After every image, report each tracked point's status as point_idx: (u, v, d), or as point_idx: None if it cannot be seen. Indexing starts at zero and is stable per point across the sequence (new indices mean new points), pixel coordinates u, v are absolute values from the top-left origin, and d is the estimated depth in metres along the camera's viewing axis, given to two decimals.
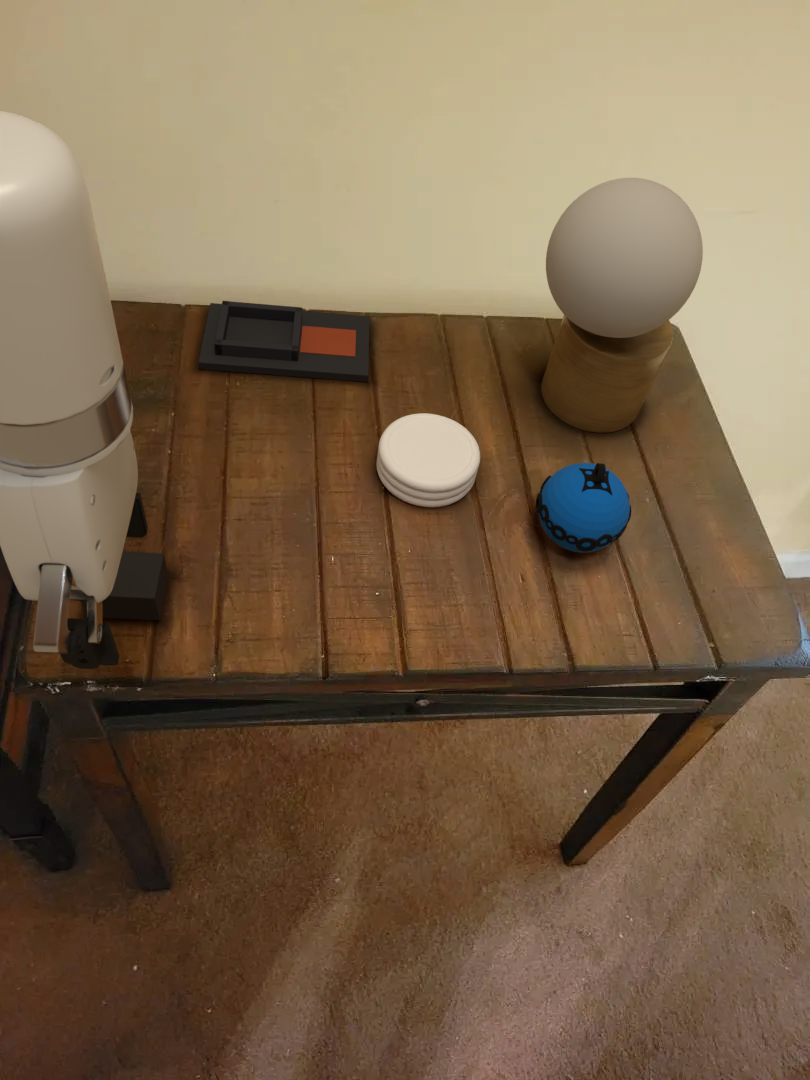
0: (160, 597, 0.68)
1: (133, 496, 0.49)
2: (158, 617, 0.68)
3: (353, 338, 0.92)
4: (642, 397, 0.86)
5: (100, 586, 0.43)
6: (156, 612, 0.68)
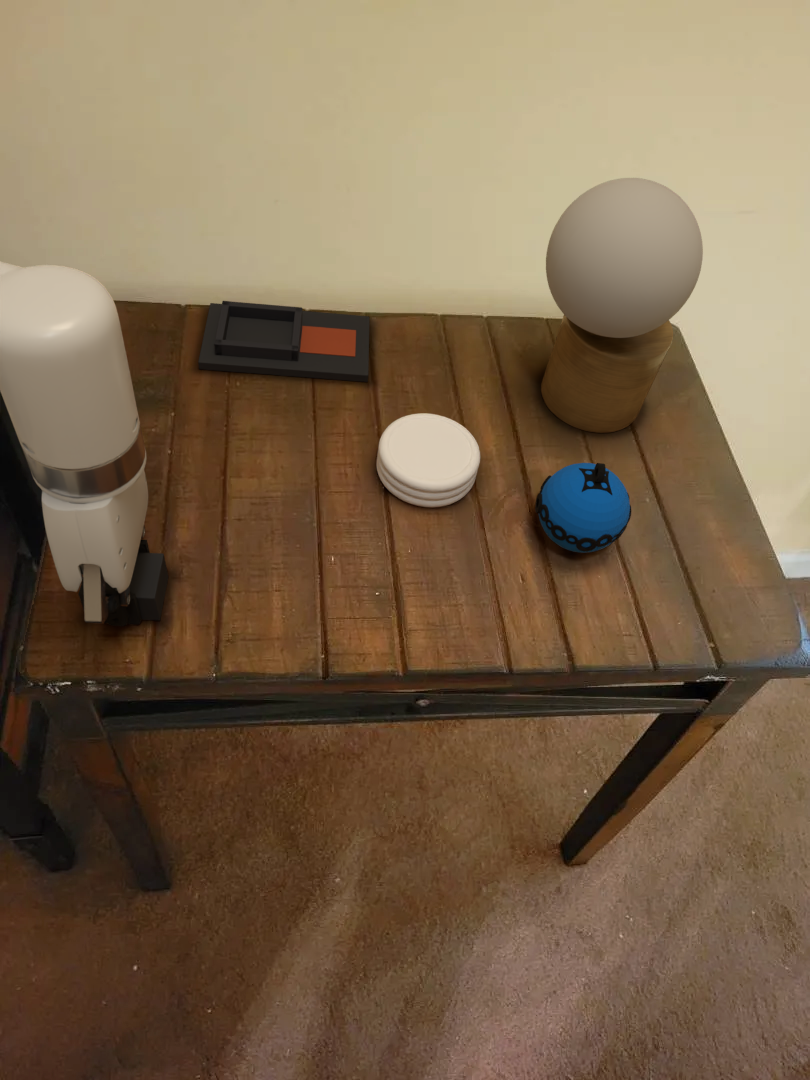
0: (160, 597, 0.68)
1: (145, 513, 0.65)
2: (158, 617, 0.68)
3: (353, 338, 0.92)
4: (642, 397, 0.86)
5: (121, 581, 0.59)
6: (156, 612, 0.68)
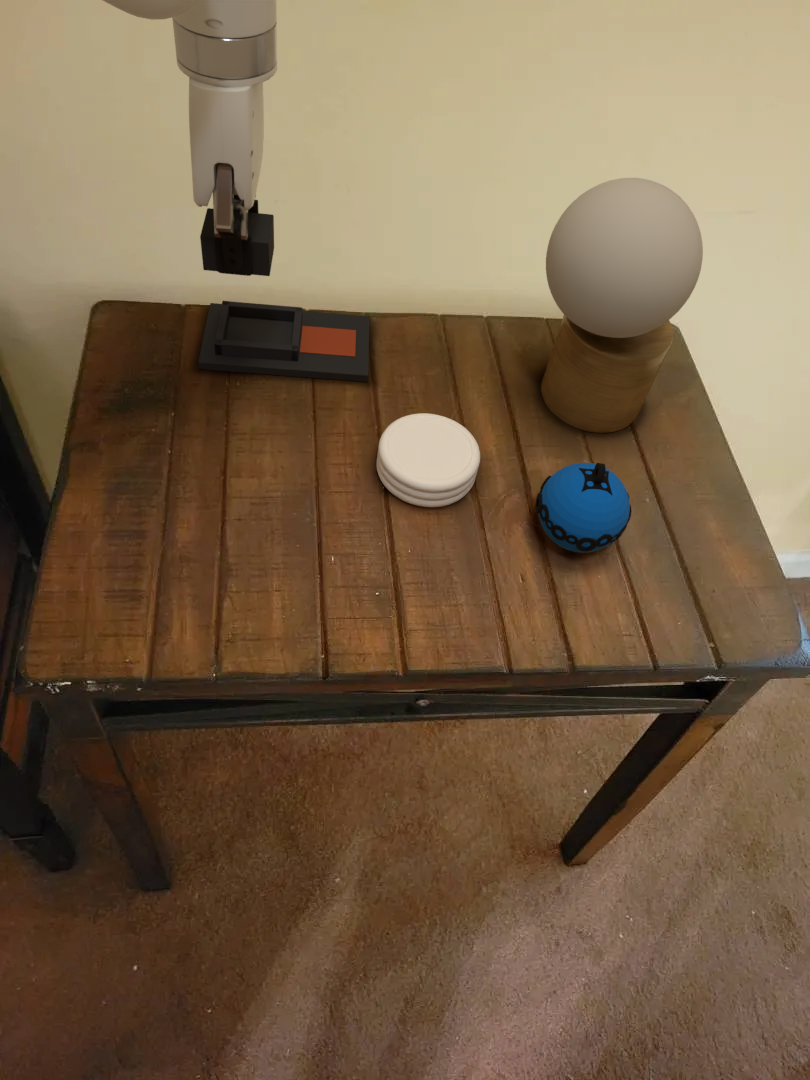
0: (270, 253, 0.75)
1: None
2: (268, 271, 0.75)
3: (353, 338, 0.92)
4: (642, 397, 0.86)
5: (249, 191, 0.66)
6: (267, 264, 0.74)
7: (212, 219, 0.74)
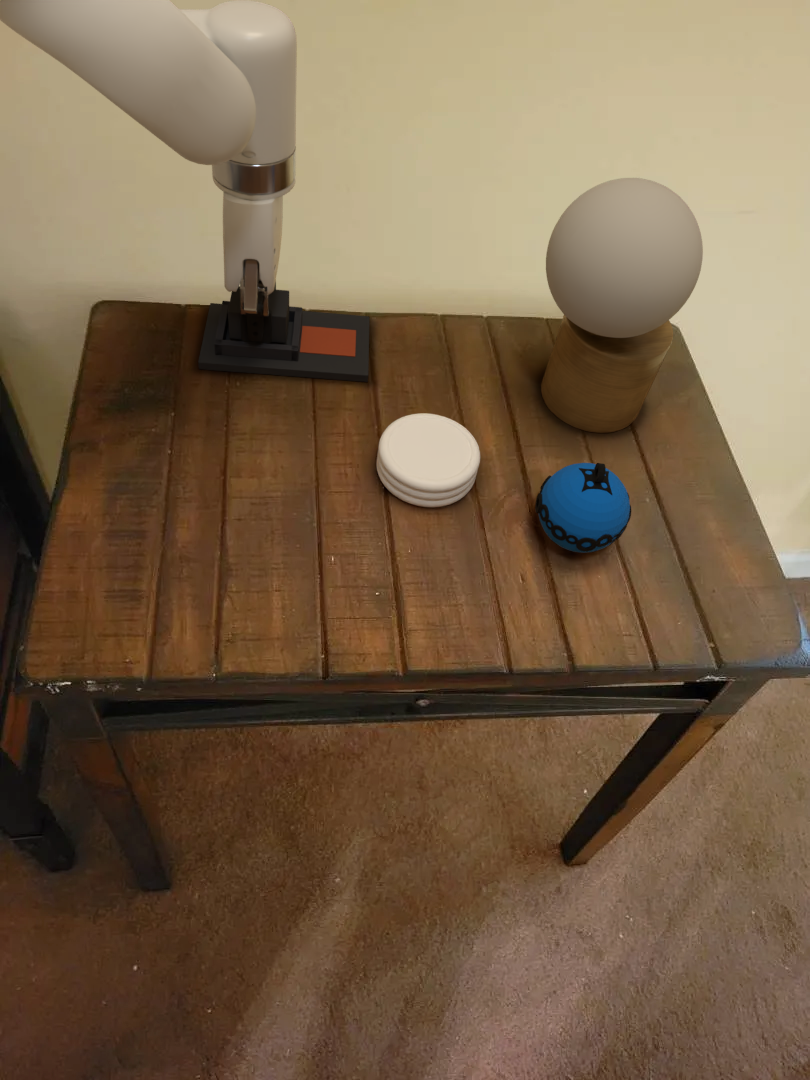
0: (287, 323, 0.88)
1: None
2: (285, 339, 0.88)
3: (353, 338, 0.92)
4: (642, 397, 0.86)
5: (271, 280, 0.79)
6: (284, 334, 0.87)
7: (237, 296, 0.86)
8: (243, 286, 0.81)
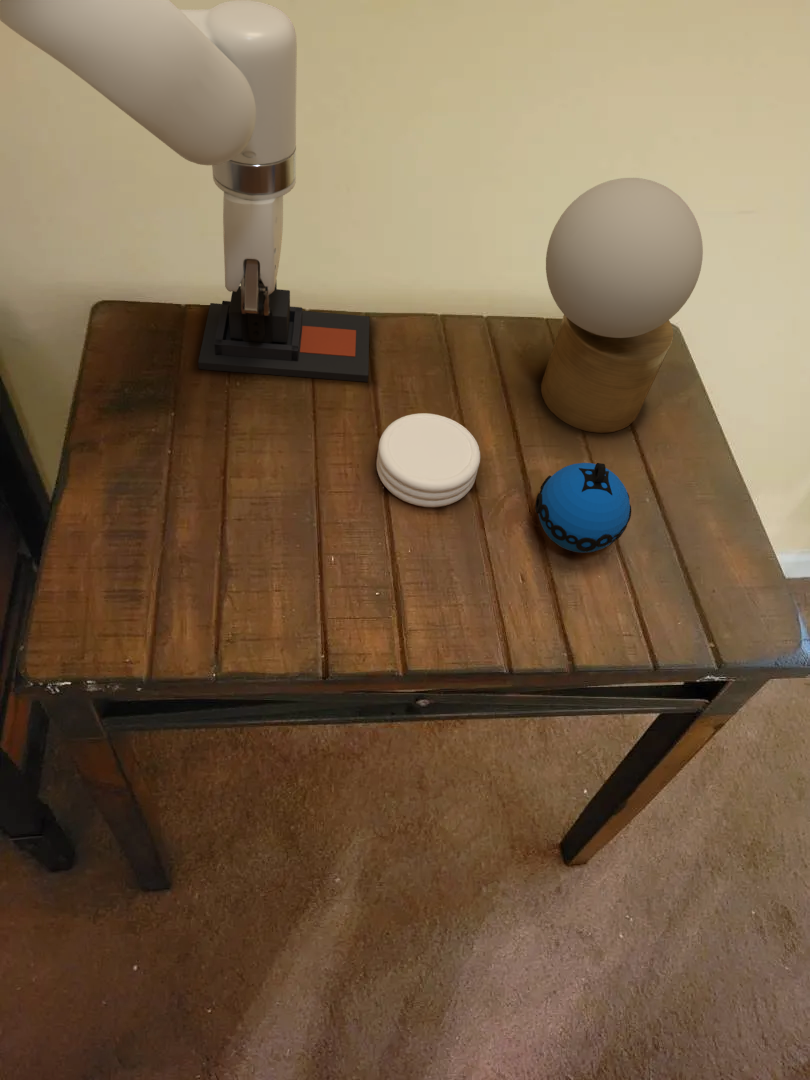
0: None
1: None
2: (285, 339, 0.88)
3: (353, 338, 0.92)
4: (642, 397, 0.86)
5: (272, 280, 0.79)
6: (285, 333, 0.87)
7: (238, 296, 0.86)
8: (244, 286, 0.81)
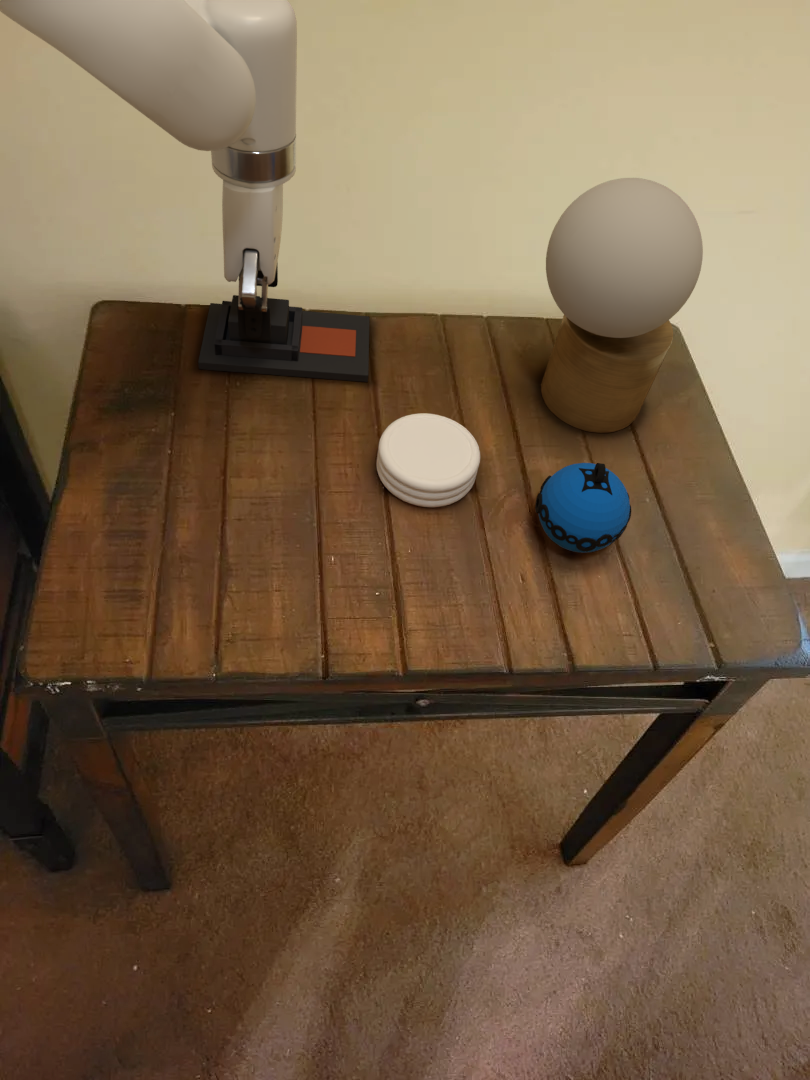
0: None
1: None
2: None
3: (353, 338, 0.92)
4: (642, 397, 0.86)
5: (271, 270, 0.78)
6: (284, 342, 0.88)
7: None
8: (242, 276, 0.79)
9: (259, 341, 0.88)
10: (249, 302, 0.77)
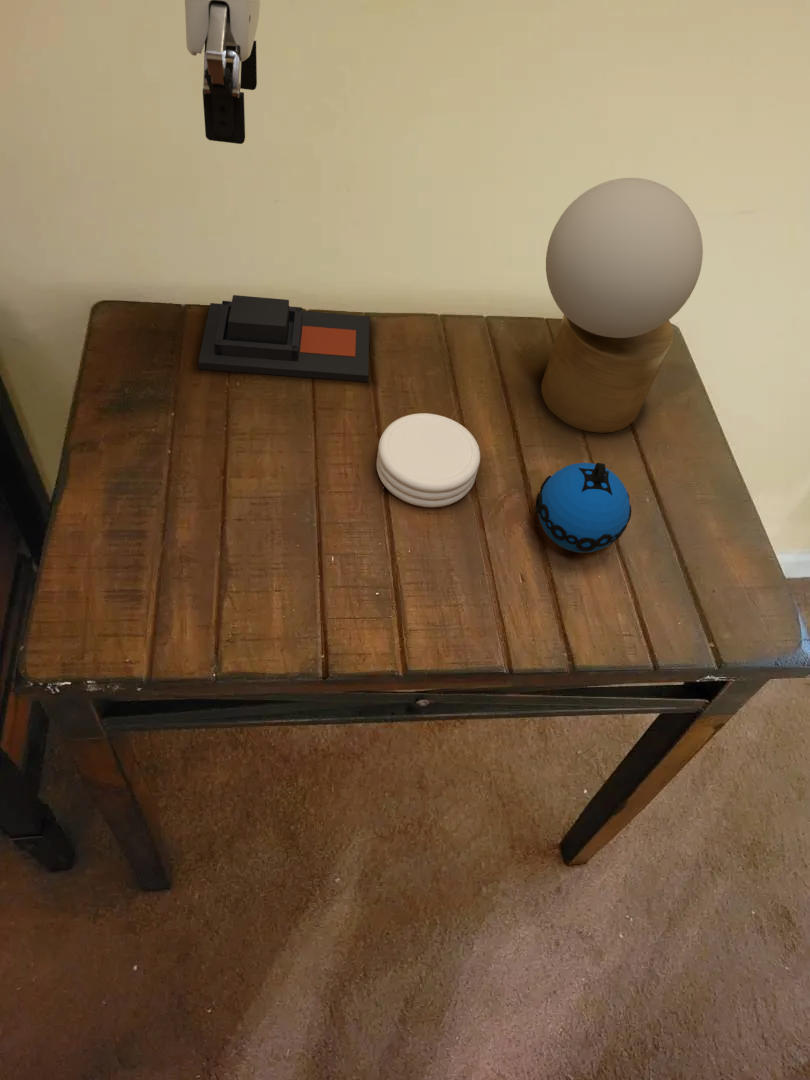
0: None
1: (258, 16, 0.68)
2: None
3: (353, 338, 0.92)
4: (642, 397, 0.86)
5: (245, 36, 0.63)
6: (284, 342, 0.88)
7: (237, 305, 0.87)
8: None
9: (259, 341, 0.88)
10: (216, 68, 0.61)
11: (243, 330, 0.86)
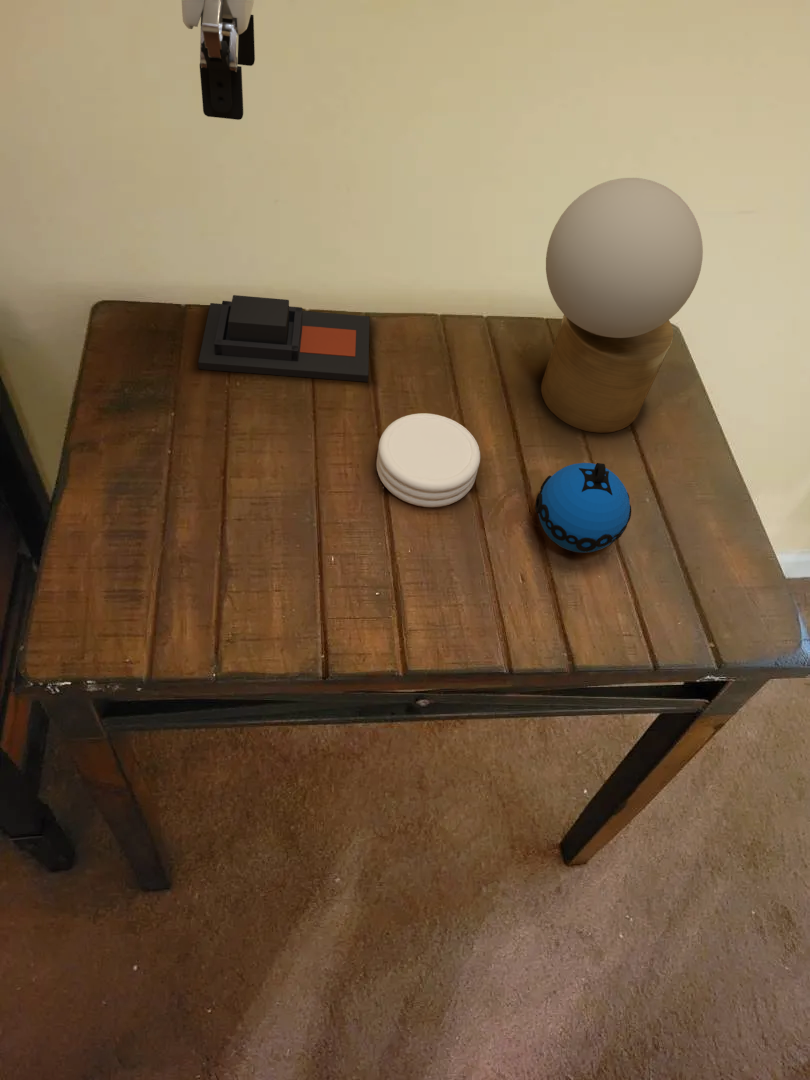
0: None
1: None
2: None
3: (353, 338, 0.92)
4: (642, 397, 0.86)
5: (242, 8, 0.61)
6: (284, 342, 0.88)
7: (237, 305, 0.87)
8: None
9: (259, 341, 0.88)
10: (212, 40, 0.60)
11: (243, 330, 0.86)
